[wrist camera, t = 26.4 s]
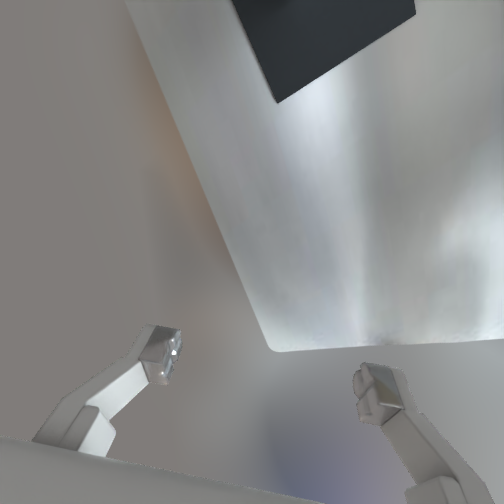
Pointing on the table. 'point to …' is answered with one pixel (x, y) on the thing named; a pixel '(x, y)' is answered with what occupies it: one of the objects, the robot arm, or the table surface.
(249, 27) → the mat
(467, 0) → the table surface
